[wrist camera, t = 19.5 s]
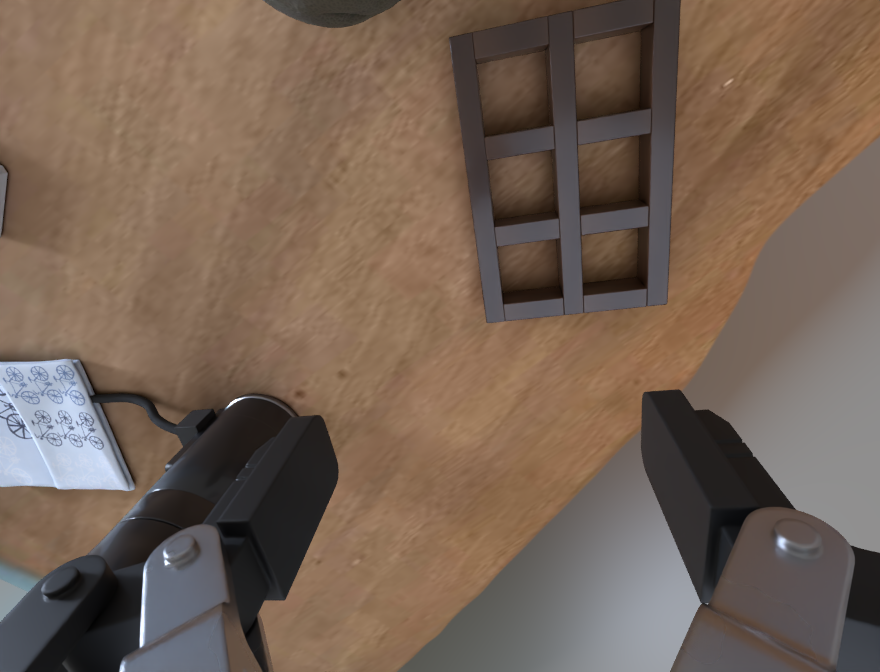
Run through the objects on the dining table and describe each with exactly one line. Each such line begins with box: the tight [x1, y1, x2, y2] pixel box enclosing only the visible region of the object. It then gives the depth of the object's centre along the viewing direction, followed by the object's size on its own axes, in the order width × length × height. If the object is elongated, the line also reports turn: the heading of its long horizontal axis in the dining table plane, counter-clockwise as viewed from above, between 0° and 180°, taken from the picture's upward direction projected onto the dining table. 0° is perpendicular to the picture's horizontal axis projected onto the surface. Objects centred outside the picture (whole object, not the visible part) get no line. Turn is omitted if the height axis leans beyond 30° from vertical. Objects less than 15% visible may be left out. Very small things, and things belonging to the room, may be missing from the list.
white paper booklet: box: [0, 359, 135, 491], centre depth 54 cm, size 19×20×2 cm
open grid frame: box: [449, 0, 681, 323], centre depth 35 cm, size 15×21×3 cm
